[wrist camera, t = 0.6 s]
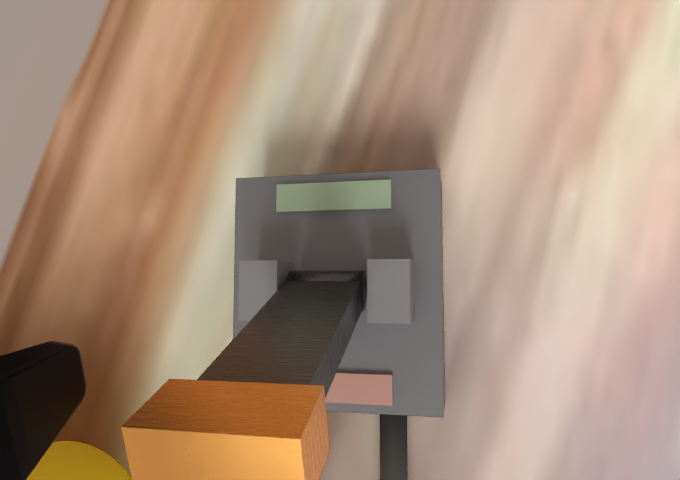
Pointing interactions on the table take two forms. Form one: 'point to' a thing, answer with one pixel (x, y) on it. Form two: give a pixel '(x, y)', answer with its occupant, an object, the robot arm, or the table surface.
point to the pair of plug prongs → (393, 447)
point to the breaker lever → (255, 392)
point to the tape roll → (77, 464)
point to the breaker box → (356, 255)
